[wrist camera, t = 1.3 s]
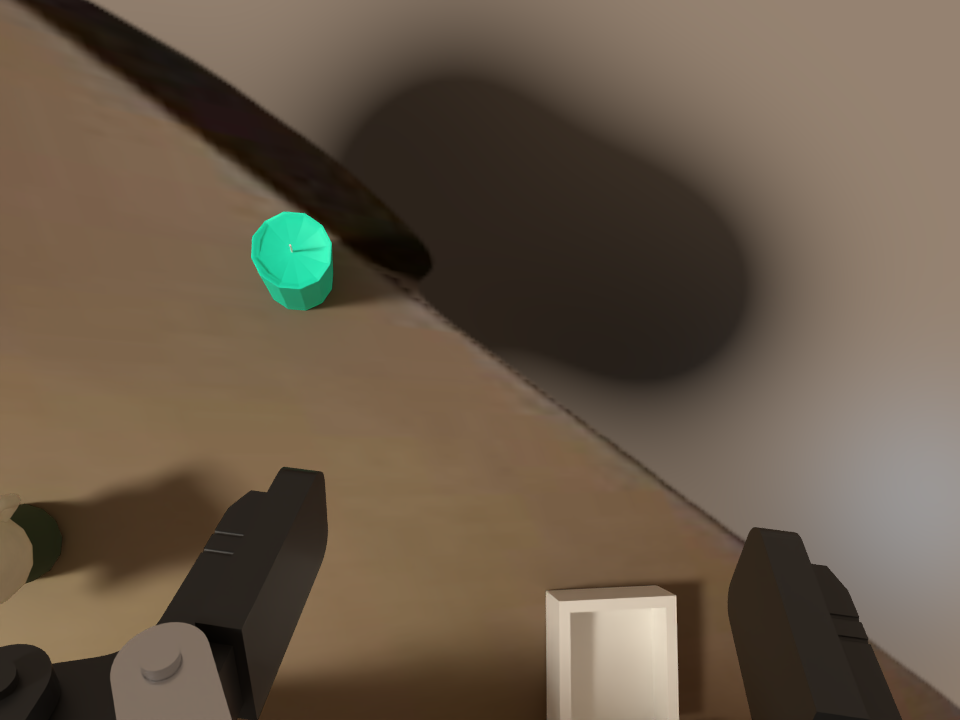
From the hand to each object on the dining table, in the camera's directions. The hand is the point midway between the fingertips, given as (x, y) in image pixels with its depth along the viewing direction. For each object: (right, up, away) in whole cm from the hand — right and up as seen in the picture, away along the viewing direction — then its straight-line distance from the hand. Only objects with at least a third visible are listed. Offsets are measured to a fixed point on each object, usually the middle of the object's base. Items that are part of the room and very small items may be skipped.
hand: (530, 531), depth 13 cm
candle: (-17, +11, +50) cm, 54 cm away
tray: (+11, -24, +52) cm, 58 cm away
